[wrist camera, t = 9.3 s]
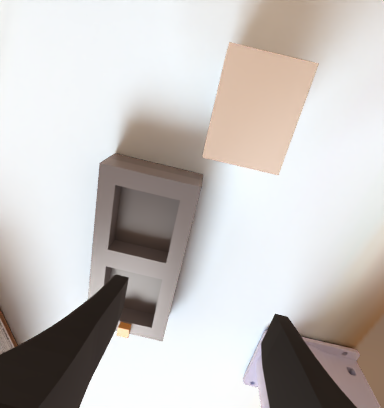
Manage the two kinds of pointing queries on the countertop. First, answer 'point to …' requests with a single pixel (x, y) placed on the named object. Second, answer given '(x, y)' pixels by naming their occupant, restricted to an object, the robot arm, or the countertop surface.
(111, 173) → the grey rectangular hollow block
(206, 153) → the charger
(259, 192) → the countertop surface
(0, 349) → the tin
